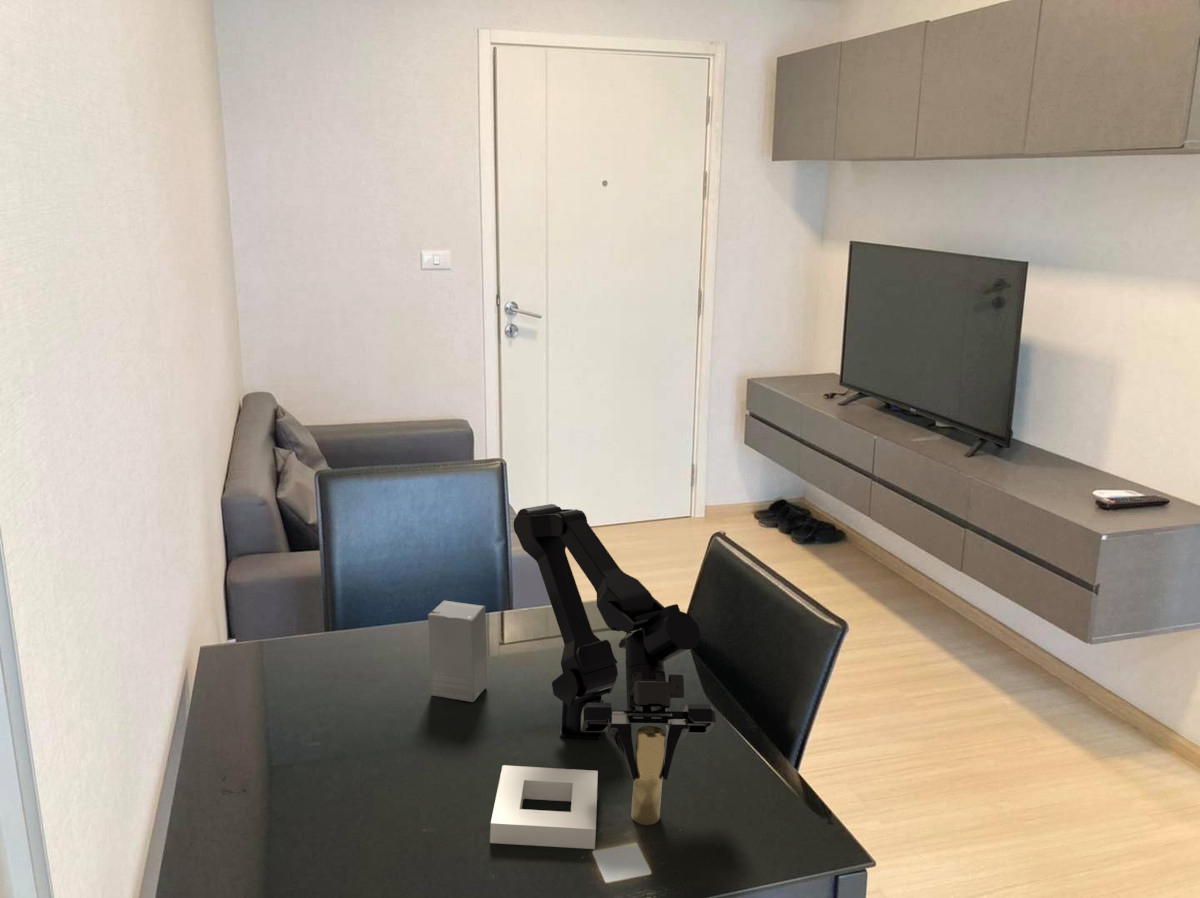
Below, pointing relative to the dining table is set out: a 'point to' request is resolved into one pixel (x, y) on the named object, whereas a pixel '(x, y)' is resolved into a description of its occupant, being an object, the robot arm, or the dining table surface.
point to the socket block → (538, 824)
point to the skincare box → (458, 650)
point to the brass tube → (648, 775)
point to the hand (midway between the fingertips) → (649, 780)
